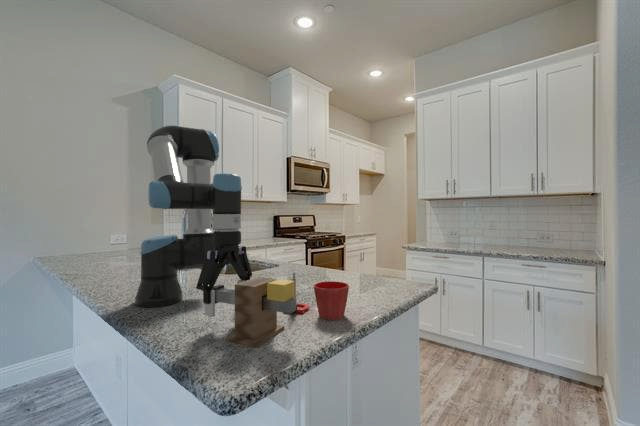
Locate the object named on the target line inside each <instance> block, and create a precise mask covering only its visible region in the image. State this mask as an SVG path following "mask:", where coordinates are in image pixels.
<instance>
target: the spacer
mask: <svg viewBox="0 0 640 426" xmlns="http://www.w3.org/2000/svg"><path fill="white" fill-rule="evenodd" d="M276 279H277V278H276ZM293 297H295V281H292V280H290V279H281V278H278V279H277V280H275V281H272V282H269V283H267V299H268V300H275V301H282V302H285V301H287V300H289V299H291V298H293Z"/></svg>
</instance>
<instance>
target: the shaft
mask: <svg viewBox="0 0 640 426" xmlns="http://www.w3.org/2000/svg"><path fill="white" fill-rule="evenodd" d="M212 290H215V305H216V304H218V303H222V304H228V305H229V304H230V305H234V306H235V289H231V288H225V285H224V284H217V285H214V287H213V289H212ZM296 303H297V297H296V298H291V299H289V300H287V301H285V302H282V301H275V300H268V299H267V294H266V295H263V296H262V309H265V310H271V311H277V313H283V314H284V313H285V314H293V313H292V312H294V311H295V310H296Z"/></svg>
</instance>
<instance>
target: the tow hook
mask: <svg viewBox="0 0 640 426" xmlns="http://www.w3.org/2000/svg"><path fill="white" fill-rule="evenodd" d="M291 281H295V297H293V298H296V299H297V294H296V293H297V291H296V290H297V285H296V284H297V278H296V272H292V280H291ZM299 306H300V307H299ZM298 307H299V308H298ZM309 309H310V305H309V304H306V303H299V302H296V310H295V311H294V312H292V313H291V314H294V313H297V314H301V315H302V314H303V315H304V314H305V312H307V311H309Z"/></svg>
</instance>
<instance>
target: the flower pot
mask: <svg viewBox="0 0 640 426" xmlns="http://www.w3.org/2000/svg"><path fill="white" fill-rule="evenodd" d="M349 289H350V285H349V283H348V282H347V283H346V282H343V281H334V280H333V281H329V280H328V281H320V282H317V283H314V285H313V291H314V295H315V302H316V307H317V311H318V316H319V318H321V319H323V320H331V321H335V320H336V321H337V320H340V319H342V318H344V316H345V312H346V307H347V301H348V296H349Z"/></svg>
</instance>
